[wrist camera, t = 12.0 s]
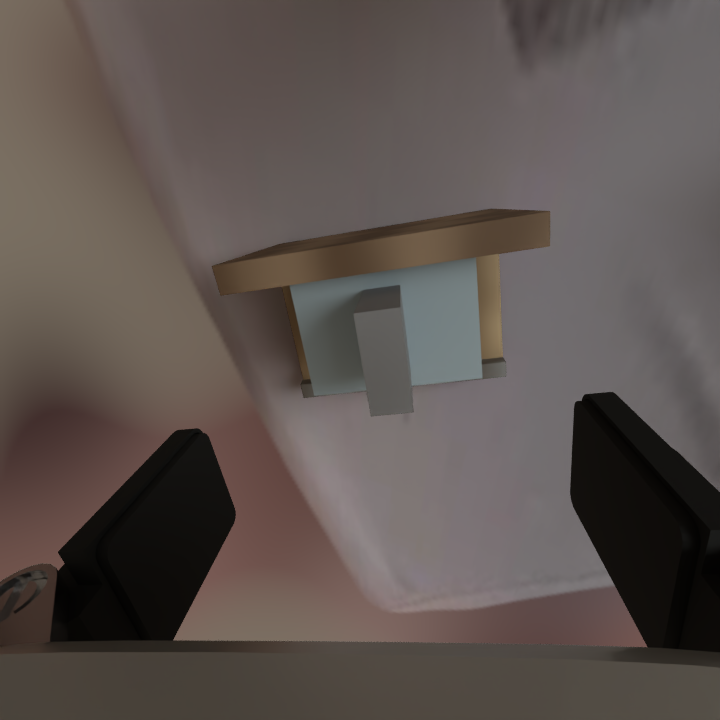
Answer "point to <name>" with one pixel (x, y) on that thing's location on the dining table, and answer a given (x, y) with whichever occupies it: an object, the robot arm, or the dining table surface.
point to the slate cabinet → (391, 331)
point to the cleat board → (397, 265)
